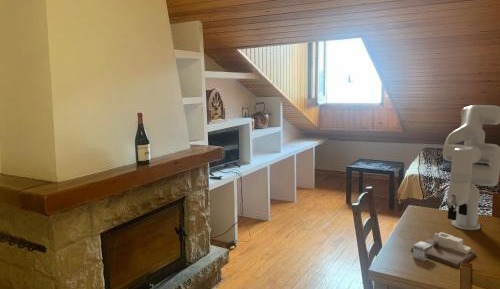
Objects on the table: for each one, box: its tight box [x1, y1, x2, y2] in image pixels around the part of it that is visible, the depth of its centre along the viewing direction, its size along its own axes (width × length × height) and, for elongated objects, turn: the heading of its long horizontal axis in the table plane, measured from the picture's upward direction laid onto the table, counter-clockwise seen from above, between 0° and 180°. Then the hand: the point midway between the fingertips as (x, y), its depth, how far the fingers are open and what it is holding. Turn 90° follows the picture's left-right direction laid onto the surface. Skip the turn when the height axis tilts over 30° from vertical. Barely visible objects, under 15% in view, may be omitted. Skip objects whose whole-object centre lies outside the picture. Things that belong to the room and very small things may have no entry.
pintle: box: [433, 233, 439, 247], centre depth 165 cm, size 2×2×6 cm
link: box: [437, 231, 472, 254], centre depth 164 cm, size 13×5×4 cm, turn 38°
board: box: [410, 236, 477, 268], centre depth 163 cm, size 17×19×2 cm
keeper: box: [412, 240, 433, 262], centre depth 159 cm, size 6×5×6 cm
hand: (457, 216), depth 161 cm, fingers open, 9 cm apart
